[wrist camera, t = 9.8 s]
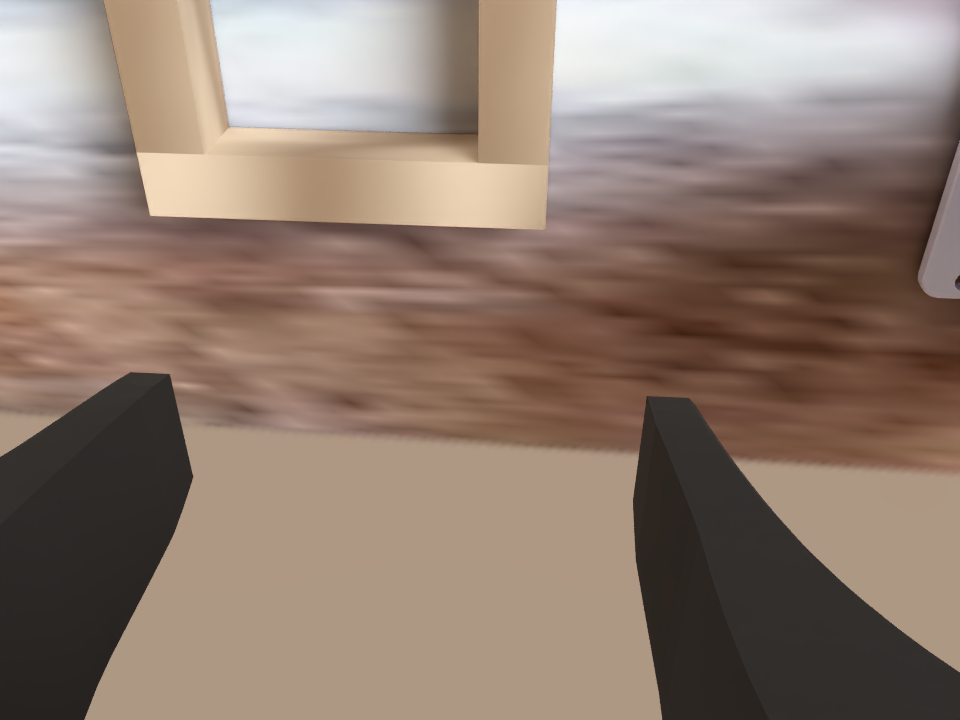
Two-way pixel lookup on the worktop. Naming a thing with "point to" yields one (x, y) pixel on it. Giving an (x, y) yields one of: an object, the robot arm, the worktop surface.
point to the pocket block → (336, 133)
